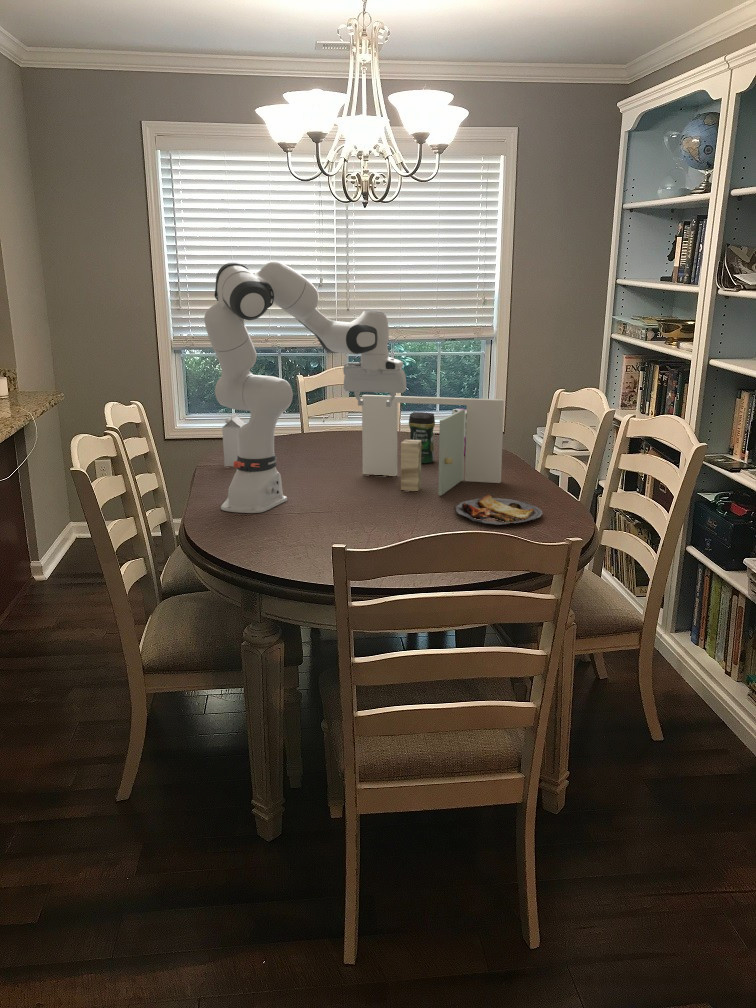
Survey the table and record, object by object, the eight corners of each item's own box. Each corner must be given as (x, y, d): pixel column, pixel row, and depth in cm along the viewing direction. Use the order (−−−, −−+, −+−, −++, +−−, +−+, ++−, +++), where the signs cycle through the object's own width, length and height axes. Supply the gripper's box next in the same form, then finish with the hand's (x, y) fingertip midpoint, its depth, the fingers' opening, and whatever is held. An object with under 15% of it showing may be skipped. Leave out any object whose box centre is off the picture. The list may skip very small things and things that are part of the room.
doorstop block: (417, 492, 262) (417, 443, 257) (400, 491, 263) (401, 442, 258) (420, 487, 267) (421, 440, 262) (404, 486, 268) (404, 439, 264)
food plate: (439, 513, 239) (439, 501, 238) (492, 499, 253) (493, 489, 252) (502, 535, 221) (503, 523, 220) (556, 520, 235) (557, 508, 234)
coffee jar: (405, 463, 300) (406, 413, 295) (411, 458, 308) (411, 410, 302) (431, 464, 298) (431, 414, 292) (436, 460, 305) (437, 411, 300)
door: (468, 479, 274) (470, 409, 268) (447, 496, 255) (448, 421, 248) (460, 478, 275) (462, 409, 269) (438, 495, 256) (439, 420, 249)
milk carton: (248, 463, 300) (245, 413, 295) (243, 468, 294) (240, 416, 288) (229, 463, 301) (226, 412, 296) (224, 467, 294) (221, 416, 289)
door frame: (500, 483, 272) (503, 400, 264) (362, 475, 283) (361, 395, 275) (500, 481, 274) (504, 399, 266) (364, 473, 285) (363, 394, 277)
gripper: (340, 363, 256) (341, 406, 260) (403, 364, 251) (403, 408, 255) (346, 360, 262) (346, 403, 265) (407, 362, 257) (407, 405, 261)
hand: (374, 405), depth 260 cm, fingers open, 8 cm apart
